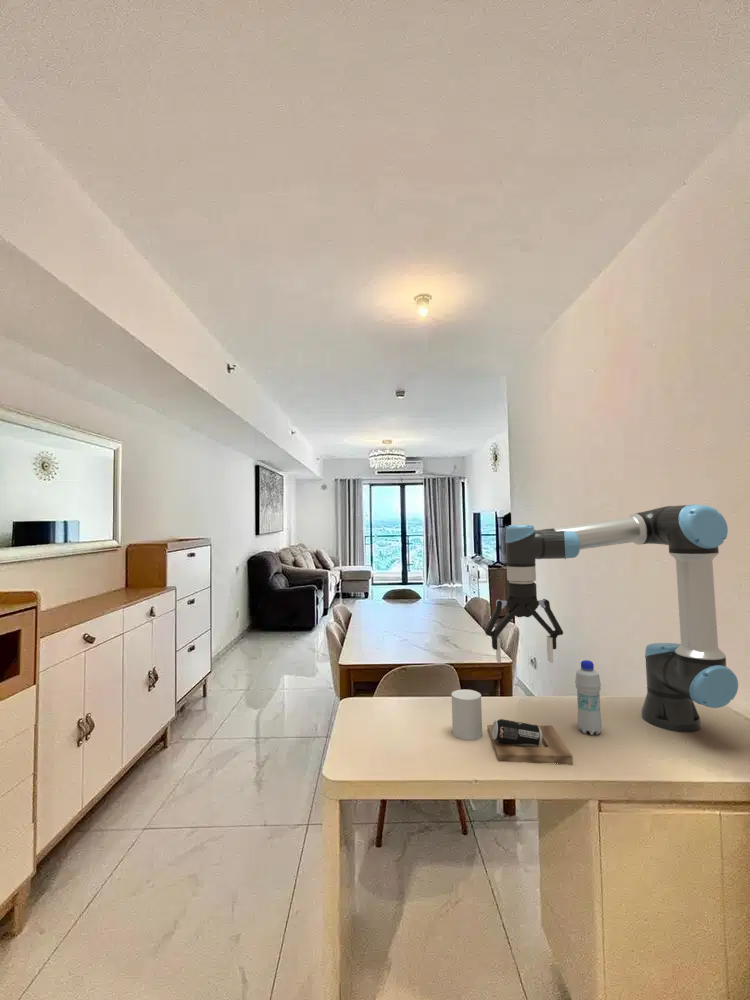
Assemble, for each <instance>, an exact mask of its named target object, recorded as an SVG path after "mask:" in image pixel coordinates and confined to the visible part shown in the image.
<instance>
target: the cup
mask: <svg viewBox="0 0 750 1000" xmlns="http://www.w3.org/2000/svg"><path fill="white" fill-rule="evenodd" d="M482 712H483V710H482V694H481V693H480V692H478V691H476V690H473V689H458V690H454V691H452V693H451V716H452V717H451V719H452V720H451V721H452V735H453V736H454V737H455V738H456V739H457V738H458V739H461V740H463V741H477V740H480V739H482V737H483V720H482V719H483V717H482V715H483V713H482Z"/></svg>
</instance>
